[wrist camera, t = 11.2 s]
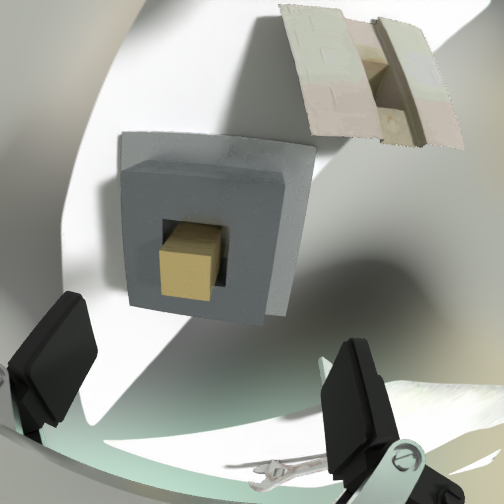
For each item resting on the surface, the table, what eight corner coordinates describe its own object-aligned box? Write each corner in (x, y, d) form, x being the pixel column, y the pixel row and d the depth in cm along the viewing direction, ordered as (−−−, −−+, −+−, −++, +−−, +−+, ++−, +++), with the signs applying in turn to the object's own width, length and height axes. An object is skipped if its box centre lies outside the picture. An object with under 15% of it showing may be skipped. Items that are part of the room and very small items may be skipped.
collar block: (126, 131, 29) (92, 137, 22) (315, 146, 29) (328, 155, 22) (131, 289, 37) (109, 322, 31) (284, 310, 37) (287, 350, 31)
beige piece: (266, 64, 29) (289, 175, 25) (273, 1, 20) (312, 103, 16) (394, 76, 30) (441, 176, 26) (420, 27, 22) (490, 129, 18)
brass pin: (190, 210, 31) (159, 250, 22) (227, 213, 31) (210, 256, 22) (189, 244, 33) (161, 294, 24) (225, 248, 33) (209, 301, 24)
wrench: (374, 434, 56) (248, 466, 57) (374, 430, 55) (246, 463, 57) (384, 460, 48) (250, 494, 50) (385, 457, 48) (248, 491, 49)
